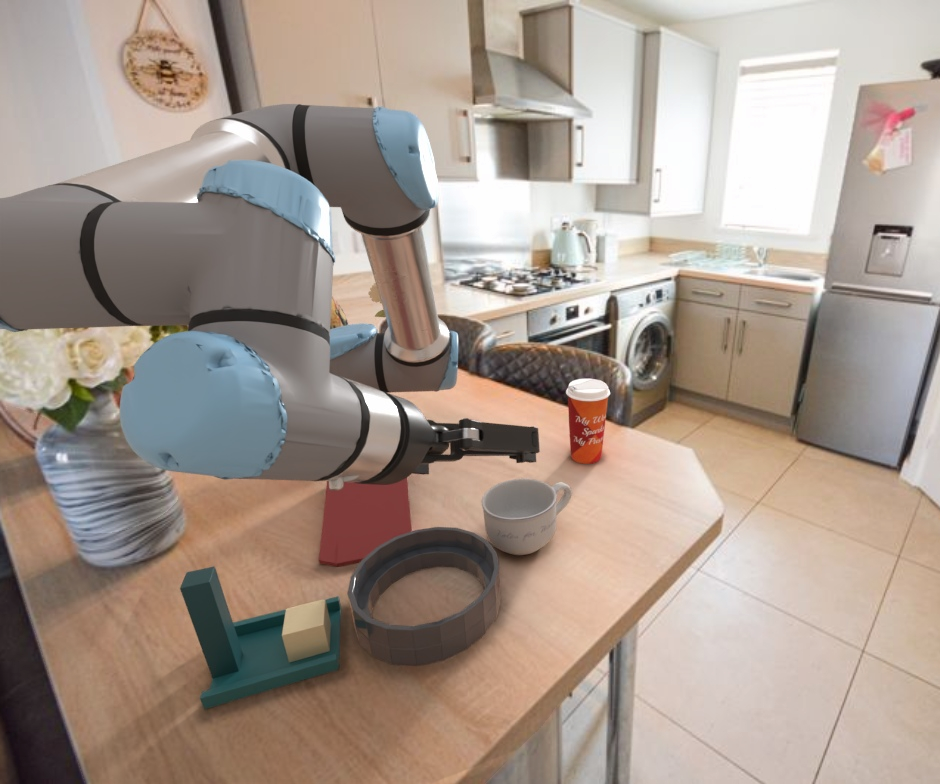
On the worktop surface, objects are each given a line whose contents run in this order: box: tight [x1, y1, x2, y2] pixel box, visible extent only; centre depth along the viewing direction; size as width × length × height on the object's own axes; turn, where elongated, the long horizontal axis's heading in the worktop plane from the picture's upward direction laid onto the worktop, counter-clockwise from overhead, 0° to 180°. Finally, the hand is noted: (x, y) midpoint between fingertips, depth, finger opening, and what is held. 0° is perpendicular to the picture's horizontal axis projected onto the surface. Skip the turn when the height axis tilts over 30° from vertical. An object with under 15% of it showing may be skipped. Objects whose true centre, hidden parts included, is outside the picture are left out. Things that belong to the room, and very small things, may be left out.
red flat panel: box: [318, 477, 413, 567], centre depth 81 cm, size 12×5×25 cm
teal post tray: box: [179, 566, 342, 710], centre depth 55 cm, size 12×10×13 cm
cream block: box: [282, 598, 331, 662], centre depth 57 cm, size 4×4×4 cm
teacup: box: [481, 478, 573, 556], centre depth 75 cm, size 14×11×8 cm
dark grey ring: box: [347, 526, 502, 667], centre depth 63 cm, size 17×17×6 cm
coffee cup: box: [565, 378, 611, 465], centre depth 97 cm, size 8×8×15 cm
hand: (478, 457), depth 60 cm, fingers open, 13 cm apart
